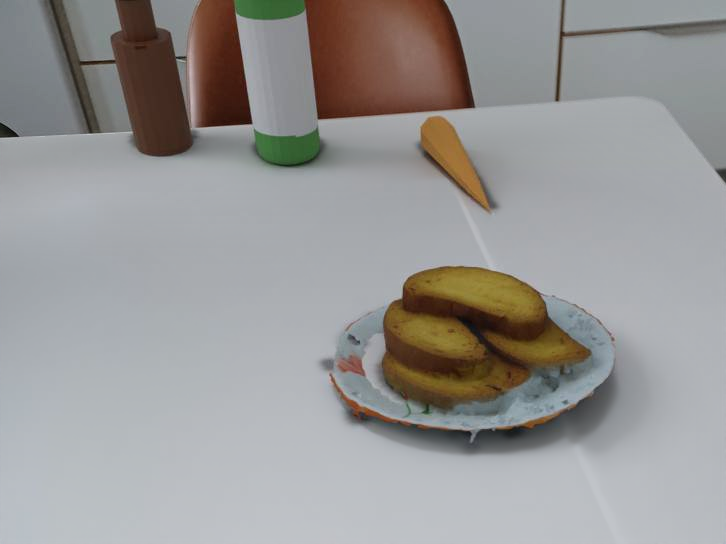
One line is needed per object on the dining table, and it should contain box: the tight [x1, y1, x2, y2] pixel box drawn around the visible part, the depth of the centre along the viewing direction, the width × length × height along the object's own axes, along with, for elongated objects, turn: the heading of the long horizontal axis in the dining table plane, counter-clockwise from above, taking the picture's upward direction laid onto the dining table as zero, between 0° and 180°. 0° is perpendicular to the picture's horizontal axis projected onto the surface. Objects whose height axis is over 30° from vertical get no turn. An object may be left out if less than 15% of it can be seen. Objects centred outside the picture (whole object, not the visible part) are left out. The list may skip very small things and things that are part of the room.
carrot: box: [419, 115, 492, 213], centre depth 113 cm, size 20×4×4 cm, turn 21°
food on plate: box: [329, 265, 616, 444], centre depth 84 cm, size 25×25×7 cm
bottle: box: [109, 0, 193, 157], centre depth 114 cm, size 7×7×16 cm
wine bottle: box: [233, 0, 321, 166], centre depth 107 cm, size 8×8×30 cm
